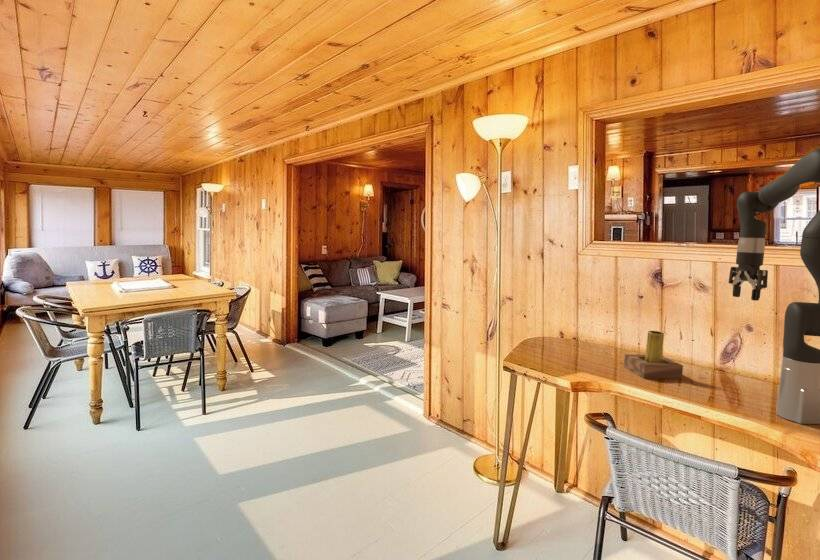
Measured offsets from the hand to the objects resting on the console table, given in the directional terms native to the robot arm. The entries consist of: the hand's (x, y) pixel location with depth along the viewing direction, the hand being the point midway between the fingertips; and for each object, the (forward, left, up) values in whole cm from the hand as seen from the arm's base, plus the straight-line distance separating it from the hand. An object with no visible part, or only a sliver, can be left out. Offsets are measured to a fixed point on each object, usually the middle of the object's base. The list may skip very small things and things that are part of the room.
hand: (745, 298), depth 161 cm
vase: (+11, +24, -29) cm, 39 cm away
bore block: (+11, +24, -30) cm, 40 cm away
